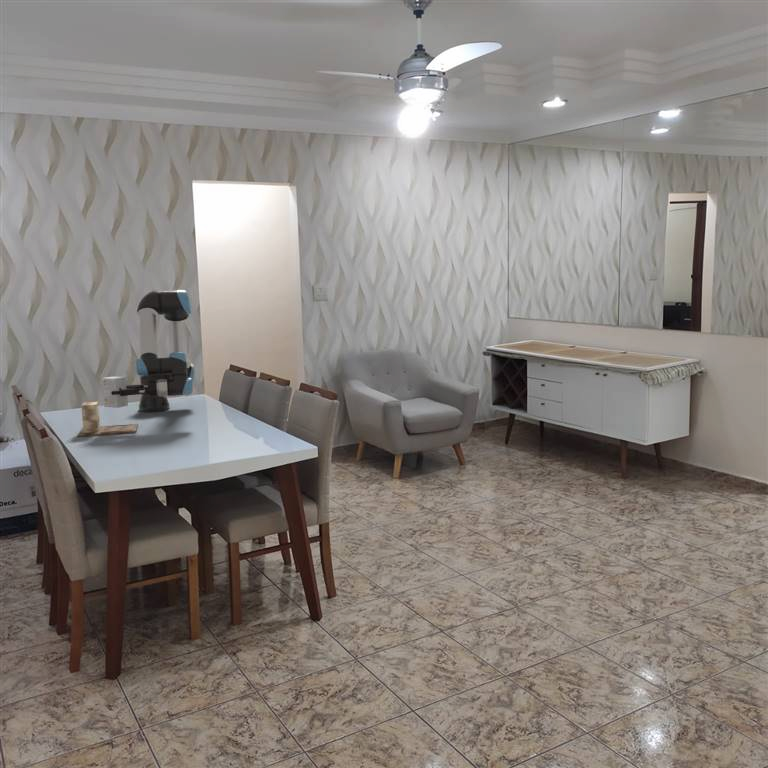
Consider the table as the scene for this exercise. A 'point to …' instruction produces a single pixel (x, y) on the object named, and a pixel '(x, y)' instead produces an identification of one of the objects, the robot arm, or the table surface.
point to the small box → (111, 384)
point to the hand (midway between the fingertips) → (104, 391)
